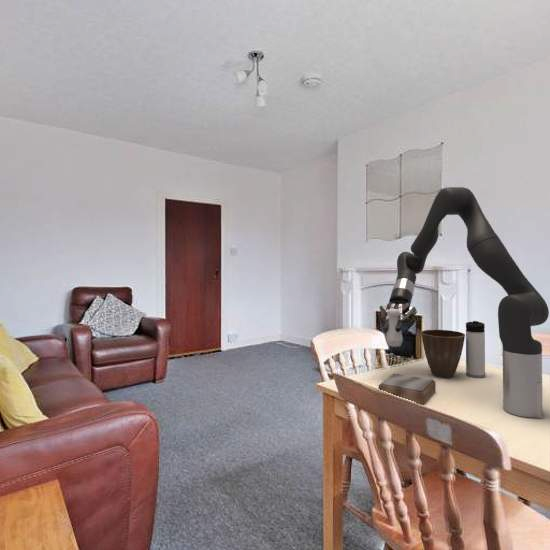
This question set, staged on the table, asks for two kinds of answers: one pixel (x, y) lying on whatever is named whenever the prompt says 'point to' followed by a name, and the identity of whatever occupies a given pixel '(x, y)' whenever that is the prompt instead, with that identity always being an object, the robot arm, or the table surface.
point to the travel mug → (475, 349)
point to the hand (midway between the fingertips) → (392, 330)
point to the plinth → (409, 387)
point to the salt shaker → (393, 329)
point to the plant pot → (443, 351)
